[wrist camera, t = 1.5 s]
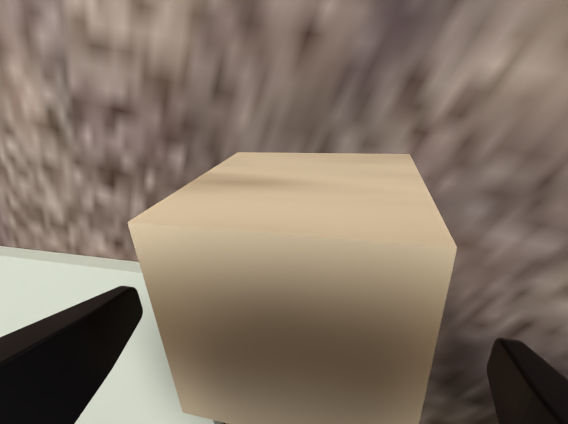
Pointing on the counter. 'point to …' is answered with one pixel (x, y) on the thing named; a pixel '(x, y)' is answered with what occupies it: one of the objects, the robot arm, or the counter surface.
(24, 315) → the sage mat
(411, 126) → the counter surface
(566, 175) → the counter surface
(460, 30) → the counter surface
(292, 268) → the maple cube
